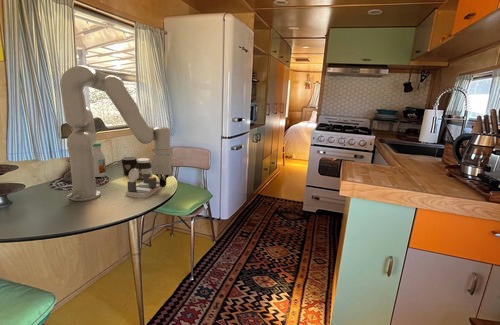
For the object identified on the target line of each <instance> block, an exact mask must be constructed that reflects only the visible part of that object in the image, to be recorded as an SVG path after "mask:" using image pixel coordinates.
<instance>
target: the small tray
mask: <svg viewBox="0 0 500 325" xmlns="http://www.w3.org/2000/svg"><path fill="white" fill-rule="evenodd" d="M149 177H151V173H147V172H145V173H143V180H142V181H141V182H140V183H137V180H135V181H133V180H130V179H129V180H128V181H127V190H126V191H125V197H133V198H134V197H135V198H143V199H148V198H149V197H150V196H152V195H153V194H155V193H156V192H157V191H159V190H161V189H162V188H163V187H160V181H157V180H156V185H157V186H156V187H154V188H153V187H149Z"/></svg>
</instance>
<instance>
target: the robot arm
mask: <svg viewBox="0 0 500 325" xmlns="http://www.w3.org/2000/svg"><path fill="white" fill-rule="evenodd" d="M59 85H60V86H59V87H60V92H61V98H62V101H61V102H62V107H63V113H64V119H65V122H66V123H67V125H68V126H70V127H72V132H71V133H70V134H69V135H68V137H67V140H66V147H67V152H68V158H69V166H70V173H71V185H72V189H71V190H70V191H71V192H70V193H69V194H66V195H65V199H66V200H72V201H75V202H85V201H90V200H94V199H98V198H99V197H100V196H101V192H100V190H97V182H96V181H97V180H96V179H97V178H95V166H94V156H93V150H92V149H93V147H92V146H93V145H94V143H97V134H96V127H95V119H94V115H93V112H92V110H91V109H89V108H88V107H87V103H86V96H85V93H84V89H85V87H89V88H91V89H94V90H98V91H101V92H103V93H105V94H106V95H107V97H108V98H109V99H110V101H111V102H112V104H113V105H114V107H115V108H116V109H117V112H118V113H119V114H120V116H121V118H122V119H123V120H124V122H125V124H126V125H127V127H128V128H129V130H130V131H131V134H133V135H134V137H135V138H136V140H137V141H138V142H139V143H141V144H143V145H148V144H151V143H152V142H153V143H154V147H153V148H152V149H151V151H152V152H153V154H152V156H151V164H152V165H151V171H152V174H153V175H152V176H155V177H156V178H158V180H159V181H158V182H160V187H162V188H164V187H165V186H166V185H167V179H168V178H169V177H173V176H174V173H173V172H174V162H173V156H172V154H171V130H170V128H169V127H166V126H159V127H158V126H157V127H155V126H149V125H148V124H147V122H146V121H145V119H144V118H143V115H142V114H141V112H140V109H139V107H138V106H139V105H138V104H137V103H136V102H135V100H134V98H133V97H132V95H131V94H130V92H129V91H128V90H127V87H126V86H125V84H124V81H123V79H121V78H120V77H118V76H115V75H112V74H108V73H105V72H104V71H103V72H102V71H99V70H97V69H94V68H91V67H89V66H85V65H74V66H72V67H69V68H68V69H67V70H66V71H64V72H63V74H62V75H61V78H60V84H59Z"/></svg>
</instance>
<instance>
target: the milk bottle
mask: <svg viewBox="0 0 500 325" xmlns="http://www.w3.org/2000/svg"><path fill="white" fill-rule="evenodd" d="M92 150H93V156H94V166H95V177H101V178H105V177H106V176H107V169H106V157H105V156H106V155H105V154H104V152H103V150H102V144H101V142H95V143H94V145H93V146H92Z"/></svg>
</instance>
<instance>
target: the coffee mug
mask: <svg viewBox="0 0 500 325" xmlns="http://www.w3.org/2000/svg"><path fill="white" fill-rule="evenodd" d="M137 159H138V158H137V157H135V156H124V157H121V164H122V170H123V174H124V176H129V172H130V170H132V169H134V166H135V164H136V163H137Z"/></svg>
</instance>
